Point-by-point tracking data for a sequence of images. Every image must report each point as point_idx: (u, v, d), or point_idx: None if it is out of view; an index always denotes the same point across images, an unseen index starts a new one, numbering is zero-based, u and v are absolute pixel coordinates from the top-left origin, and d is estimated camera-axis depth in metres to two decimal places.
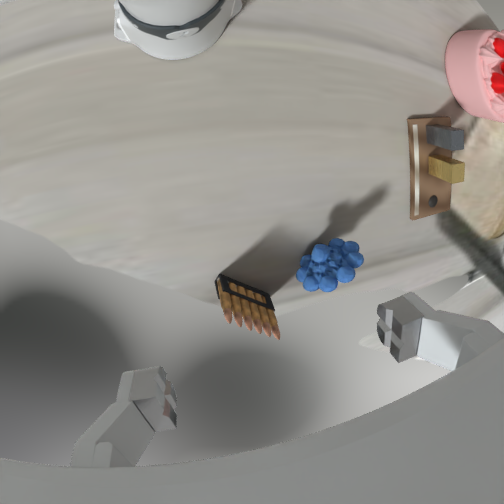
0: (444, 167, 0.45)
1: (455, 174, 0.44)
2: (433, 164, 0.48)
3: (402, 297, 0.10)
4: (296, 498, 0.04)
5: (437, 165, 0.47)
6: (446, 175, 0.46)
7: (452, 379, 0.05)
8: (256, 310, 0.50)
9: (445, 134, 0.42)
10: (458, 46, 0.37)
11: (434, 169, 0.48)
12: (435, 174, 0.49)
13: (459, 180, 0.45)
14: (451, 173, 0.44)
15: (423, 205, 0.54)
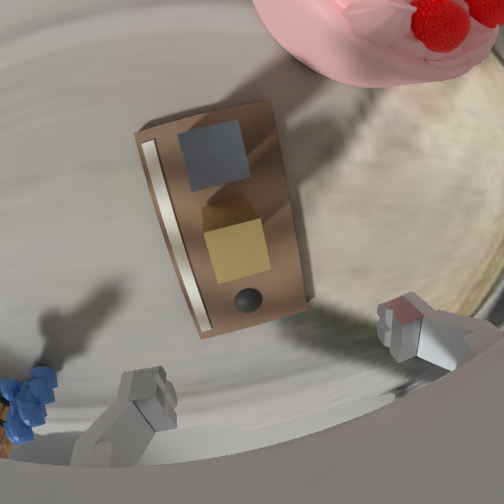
0: None
1: (226, 256, 0.19)
2: None
3: (402, 297, 0.10)
4: (296, 498, 0.04)
5: None
6: None
7: (452, 379, 0.05)
8: None
9: None
10: None
11: None
12: None
13: (248, 270, 0.20)
14: (210, 257, 0.19)
15: (220, 311, 0.29)
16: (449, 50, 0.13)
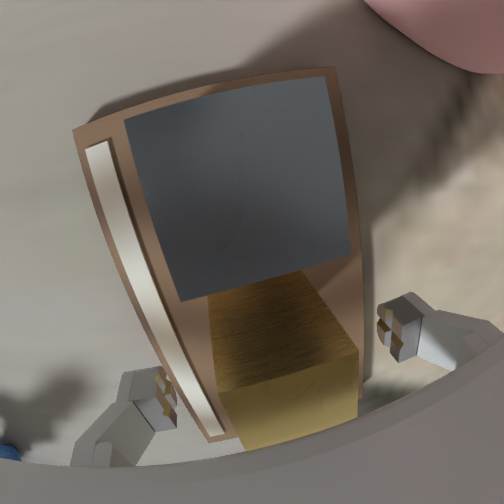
0: None
1: (271, 424, 0.07)
2: None
3: (402, 297, 0.10)
4: (296, 498, 0.04)
5: None
6: None
7: (452, 378, 0.05)
8: None
9: None
10: None
11: None
12: None
13: None
14: (234, 426, 0.07)
15: None
16: None
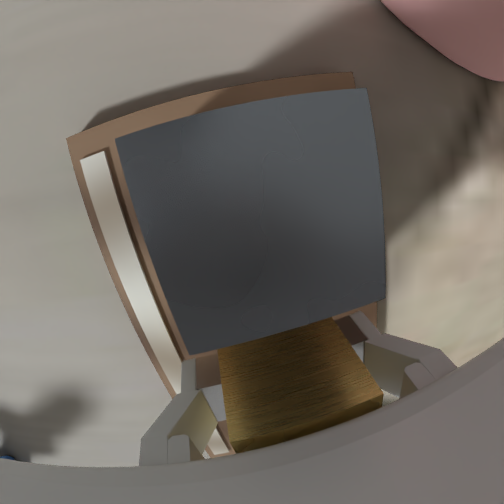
0: None
1: None
2: None
3: (348, 316, 0.10)
4: (296, 498, 0.04)
5: None
6: None
7: (452, 379, 0.05)
8: None
9: None
10: None
11: None
12: None
13: None
14: None
15: None
16: None
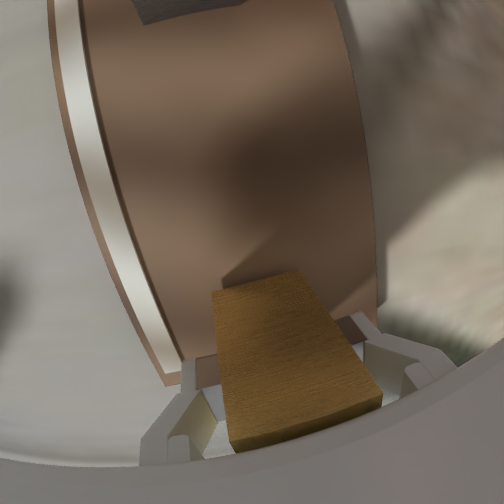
0: None
1: None
2: None
3: (348, 316, 0.10)
4: (296, 498, 0.04)
5: None
6: None
7: (452, 379, 0.05)
8: None
9: None
10: None
11: None
12: None
13: None
14: None
15: (201, 335, 0.13)
16: None
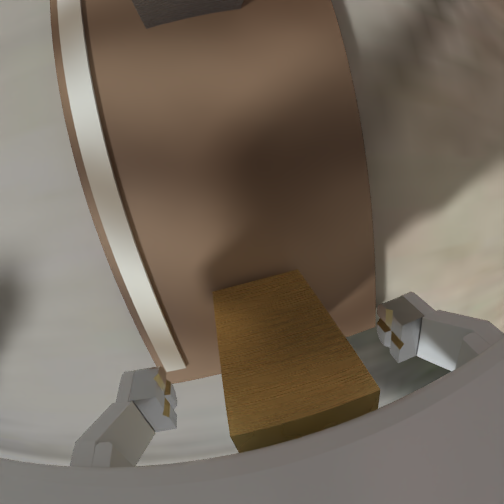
0: None
1: None
2: None
3: (402, 297, 0.10)
4: (296, 498, 0.04)
5: None
6: None
7: (452, 379, 0.05)
8: None
9: None
10: None
11: None
12: None
13: None
14: None
15: (202, 333, 0.13)
16: None
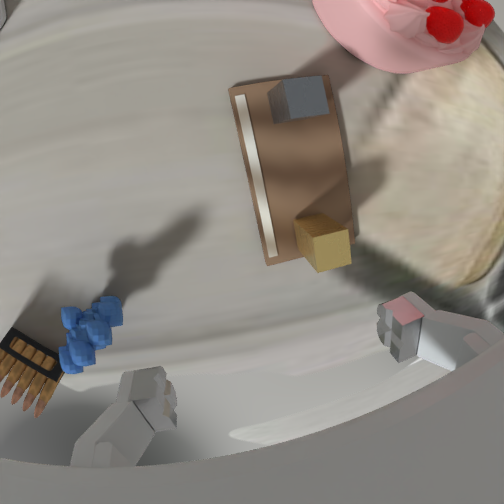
0: (307, 241, 0.30)
1: (325, 253, 0.28)
2: (298, 234, 0.33)
3: (402, 297, 0.10)
4: (297, 498, 0.04)
5: (301, 236, 0.31)
6: (311, 256, 0.29)
7: (452, 379, 0.05)
8: (25, 376, 0.29)
9: (280, 92, 0.24)
10: None
11: (300, 243, 0.33)
12: (302, 252, 0.33)
13: (337, 263, 0.28)
14: (314, 254, 0.28)
15: (286, 238, 0.35)
16: (451, 41, 0.19)
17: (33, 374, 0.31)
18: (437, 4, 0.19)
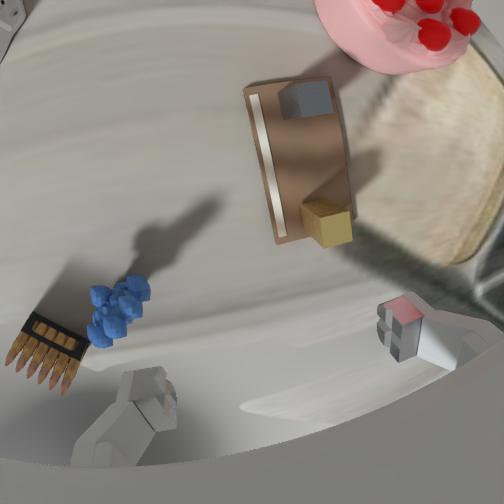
0: (314, 221, 0.34)
1: (330, 232, 0.32)
2: (305, 216, 0.37)
3: (402, 297, 0.10)
4: (296, 498, 0.04)
5: (308, 218, 0.36)
6: (317, 234, 0.34)
7: (452, 379, 0.05)
8: (49, 357, 0.34)
9: (292, 94, 0.28)
10: None
11: (307, 224, 0.37)
12: (309, 231, 0.37)
13: (340, 240, 0.33)
14: (321, 232, 0.32)
15: (294, 220, 0.39)
16: (439, 49, 0.23)
17: (57, 355, 0.35)
18: (428, 14, 0.23)
